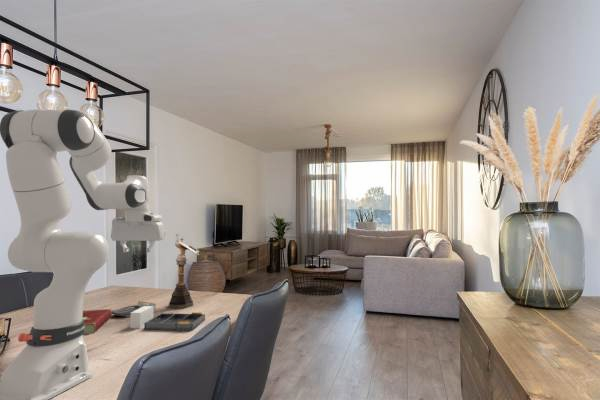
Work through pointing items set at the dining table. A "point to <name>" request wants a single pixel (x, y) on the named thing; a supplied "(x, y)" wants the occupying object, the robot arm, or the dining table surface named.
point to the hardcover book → (95, 319)
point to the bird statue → (181, 279)
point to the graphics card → (131, 309)
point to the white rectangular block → (141, 316)
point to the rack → (175, 321)
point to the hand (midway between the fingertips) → (137, 252)
